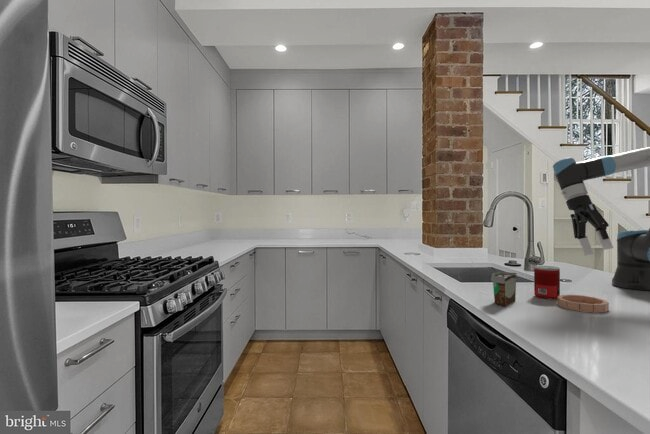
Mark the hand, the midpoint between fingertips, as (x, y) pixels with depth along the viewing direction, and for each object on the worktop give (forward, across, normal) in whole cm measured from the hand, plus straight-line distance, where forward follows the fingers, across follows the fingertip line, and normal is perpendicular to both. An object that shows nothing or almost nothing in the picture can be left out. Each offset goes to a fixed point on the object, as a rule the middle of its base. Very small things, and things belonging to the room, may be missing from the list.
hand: (598, 252), depth 129 cm
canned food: (+12, -2, -21) cm, 24 cm away
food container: (+11, +9, -39) cm, 42 cm away
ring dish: (+17, +10, -16) cm, 25 cm away
